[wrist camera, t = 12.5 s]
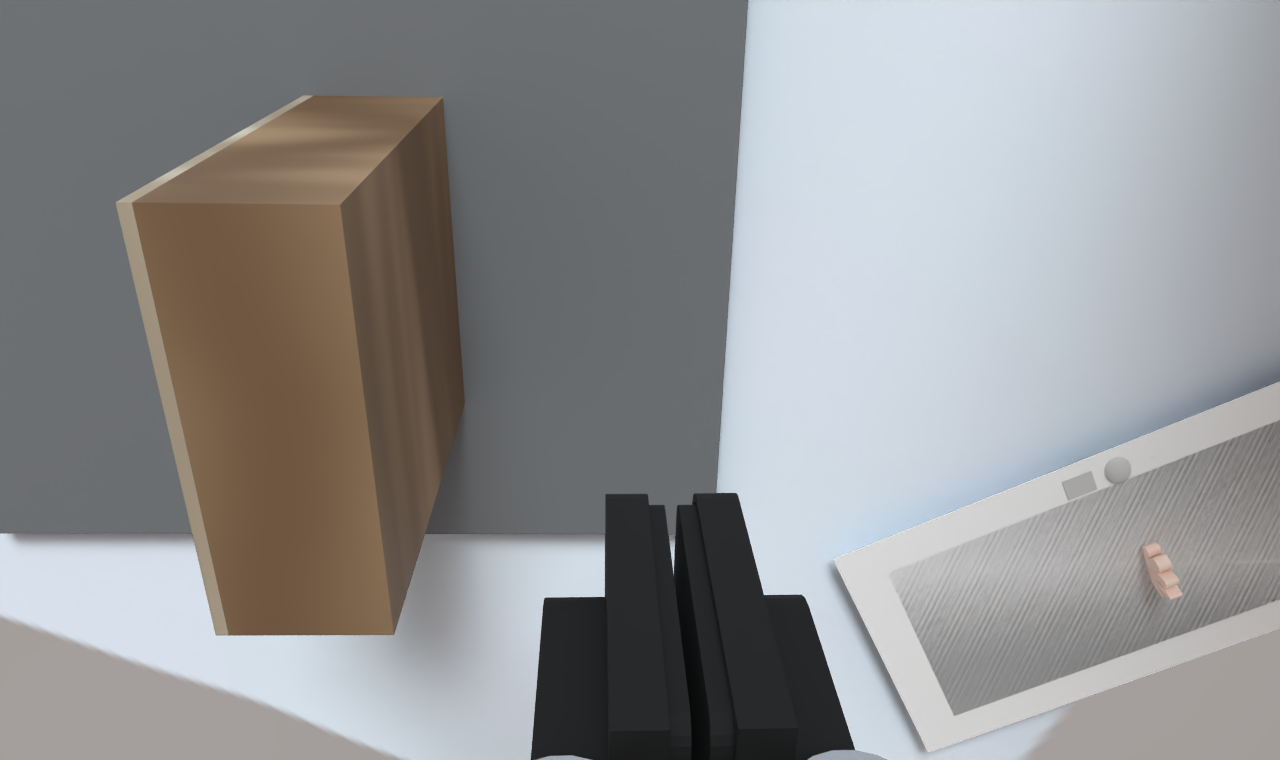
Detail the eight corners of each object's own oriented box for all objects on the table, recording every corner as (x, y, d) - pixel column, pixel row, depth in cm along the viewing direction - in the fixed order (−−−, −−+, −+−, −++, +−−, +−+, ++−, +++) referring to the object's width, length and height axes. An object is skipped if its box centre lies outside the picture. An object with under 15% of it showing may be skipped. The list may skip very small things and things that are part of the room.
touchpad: (1432, 539, 26) (1498, 589, 24) (917, 724, 29) (939, 783, 27) (1400, 302, 23) (1473, 338, 21) (824, 534, 25) (842, 585, 23)
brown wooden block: (442, 97, 19) (340, 204, 12) (464, 402, 22) (393, 634, 15) (303, 95, 19) (115, 202, 12) (345, 402, 22) (215, 635, 15)
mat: (748, -75, 18) (752, -75, 18) (711, 520, 25) (713, 533, 24) (-197, -96, 18) (-222, -96, 17) (7, 519, 24) (-7, 533, 23)
